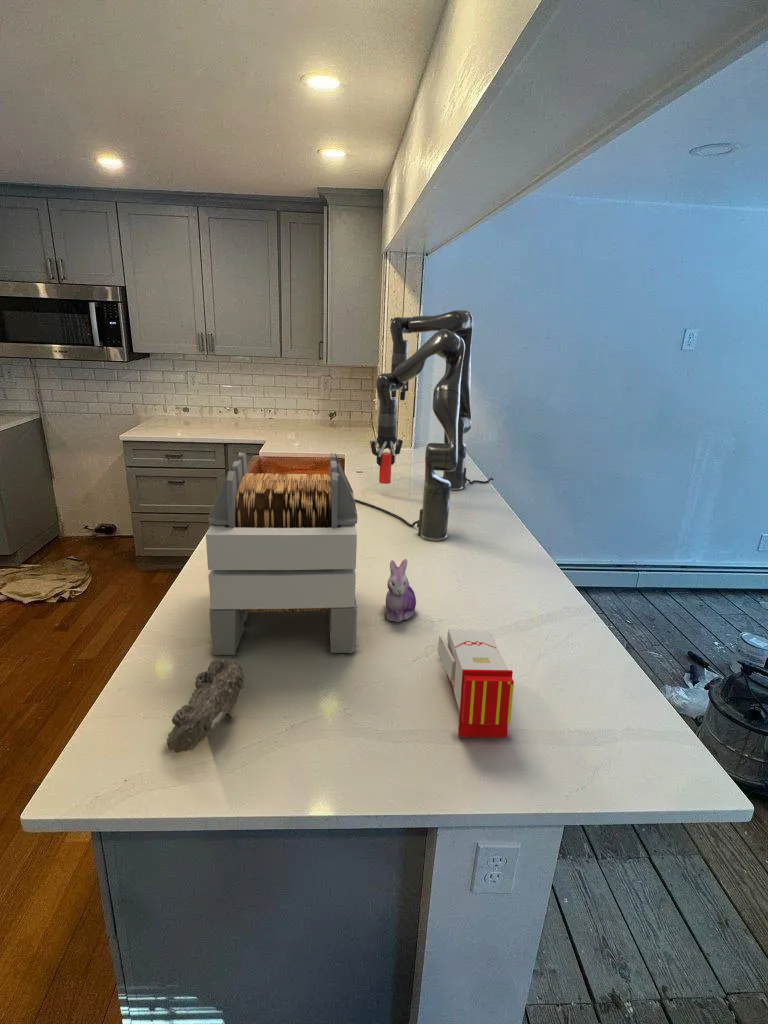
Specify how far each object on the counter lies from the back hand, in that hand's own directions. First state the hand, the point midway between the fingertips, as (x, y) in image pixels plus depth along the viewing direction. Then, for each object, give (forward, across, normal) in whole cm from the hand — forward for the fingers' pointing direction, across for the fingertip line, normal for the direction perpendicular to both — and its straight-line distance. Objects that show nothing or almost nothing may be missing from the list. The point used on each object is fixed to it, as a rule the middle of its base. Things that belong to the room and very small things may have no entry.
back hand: (397, 398), depth 266 cm
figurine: (+35, +122, -65) cm, 143 cm away
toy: (+35, +156, -67) cm, 173 cm away
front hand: (+21, +34, -24) cm, 47 cm away
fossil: (+35, +142, -117) cm, 187 cm away
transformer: (+35, +112, -92) cm, 149 cm away
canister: (+29, +34, -24) cm, 50 cm away
